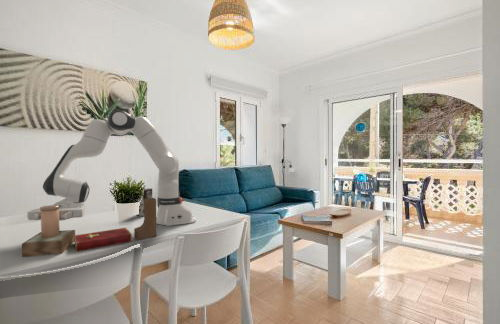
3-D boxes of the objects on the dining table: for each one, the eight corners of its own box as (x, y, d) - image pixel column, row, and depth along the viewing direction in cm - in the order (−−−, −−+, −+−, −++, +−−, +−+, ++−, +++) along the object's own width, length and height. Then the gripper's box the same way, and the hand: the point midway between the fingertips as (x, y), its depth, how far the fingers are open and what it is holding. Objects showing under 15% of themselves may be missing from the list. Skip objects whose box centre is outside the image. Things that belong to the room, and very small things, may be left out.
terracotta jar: (62, 232, 112) (62, 204, 112) (56, 237, 106) (55, 207, 106) (45, 233, 111) (44, 205, 110) (37, 238, 105) (36, 208, 104)
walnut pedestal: (75, 240, 118) (75, 229, 118) (61, 253, 103) (61, 240, 103) (40, 243, 114) (40, 231, 114) (22, 256, 100) (21, 243, 99)
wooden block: (136, 240, 119) (136, 200, 118) (134, 237, 123) (133, 199, 122) (156, 236, 125) (156, 198, 124) (153, 234, 128) (153, 197, 128)
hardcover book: (131, 242, 118) (131, 233, 118) (75, 253, 105) (75, 242, 105) (125, 235, 127) (125, 226, 127) (73, 244, 115) (73, 234, 115)
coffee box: (144, 216, 163) (144, 190, 163) (135, 215, 164) (135, 189, 164) (152, 212, 172) (152, 188, 171) (144, 212, 173) (143, 188, 173)
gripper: (36, 204, 118) (18, 211, 105) (87, 202, 124) (77, 208, 110) (36, 218, 118) (19, 226, 105) (88, 215, 124) (78, 223, 111)
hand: (49, 217), depth 108 cm, fingers open, 8 cm apart
